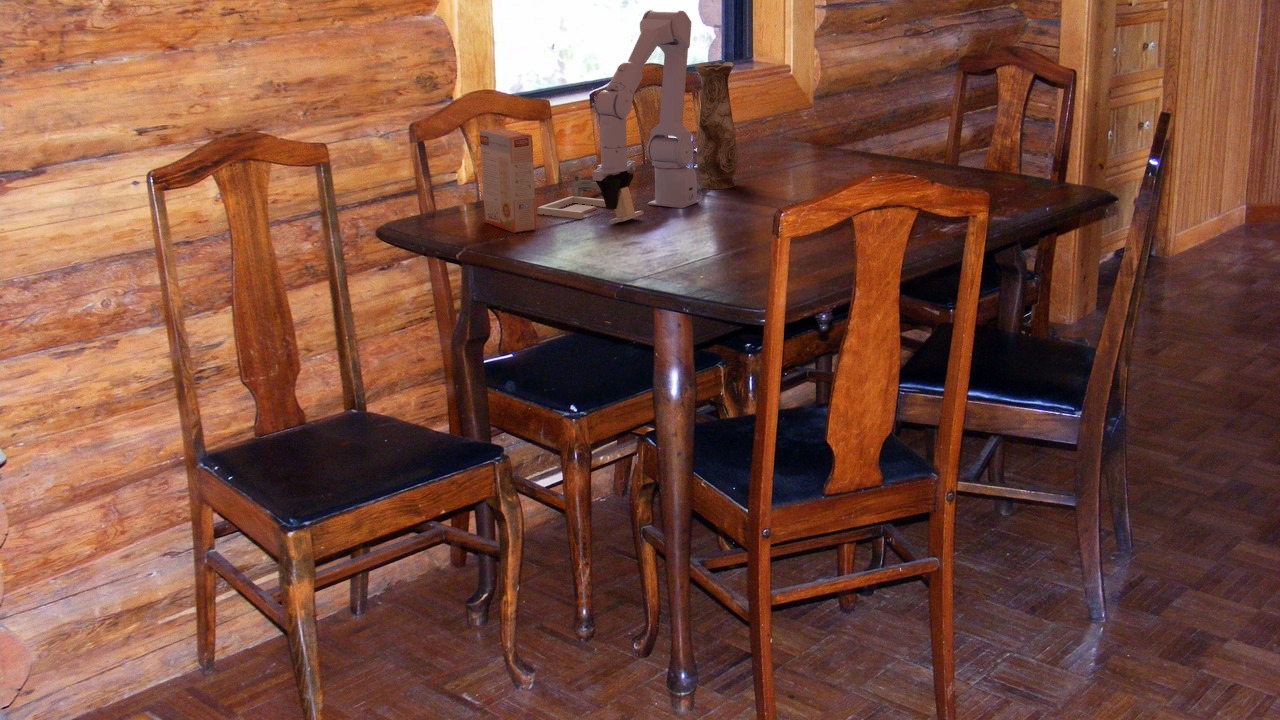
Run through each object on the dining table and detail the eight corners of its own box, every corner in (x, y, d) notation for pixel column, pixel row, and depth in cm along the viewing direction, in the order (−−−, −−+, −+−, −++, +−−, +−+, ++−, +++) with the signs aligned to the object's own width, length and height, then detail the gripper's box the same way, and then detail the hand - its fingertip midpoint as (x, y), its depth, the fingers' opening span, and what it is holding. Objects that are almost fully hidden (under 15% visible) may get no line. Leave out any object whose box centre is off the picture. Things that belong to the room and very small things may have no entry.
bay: (614, 207, 297) (614, 200, 296) (581, 219, 285) (580, 212, 285) (572, 202, 303) (571, 196, 302) (537, 213, 291) (537, 207, 291)
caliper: (576, 202, 303) (575, 177, 301) (572, 202, 304) (571, 176, 302) (621, 187, 320) (620, 162, 318) (617, 187, 320) (616, 162, 318)
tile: (597, 211, 295) (596, 206, 295) (582, 216, 290) (582, 211, 290) (576, 209, 298) (575, 204, 298) (561, 214, 293) (560, 209, 293)
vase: (739, 189, 312) (739, 65, 303) (695, 190, 313) (695, 66, 303) (736, 181, 322) (737, 61, 312) (694, 182, 322) (694, 61, 313)
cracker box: (538, 230, 276) (533, 134, 269) (513, 234, 273) (508, 137, 266) (507, 219, 287) (502, 126, 280) (483, 222, 284) (478, 129, 277)
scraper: (643, 213, 283) (636, 184, 282) (624, 220, 277) (616, 190, 276) (629, 216, 286) (621, 187, 284) (609, 223, 279) (602, 193, 278)
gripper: (616, 140, 285) (617, 199, 290) (580, 150, 274) (582, 211, 278) (642, 142, 282) (644, 202, 286) (607, 152, 270) (609, 215, 275)
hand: (615, 207), depth 282 cm, fingers closed on scraper, 3 cm apart
